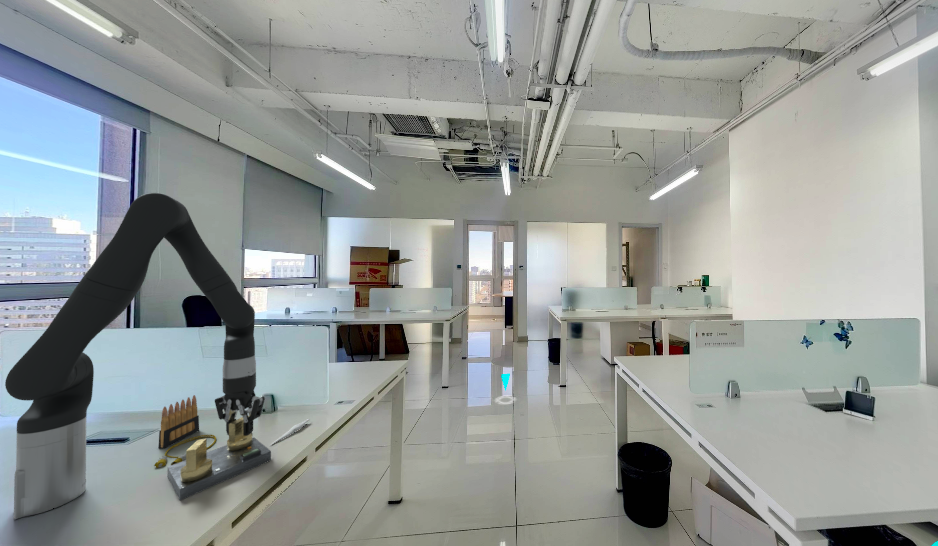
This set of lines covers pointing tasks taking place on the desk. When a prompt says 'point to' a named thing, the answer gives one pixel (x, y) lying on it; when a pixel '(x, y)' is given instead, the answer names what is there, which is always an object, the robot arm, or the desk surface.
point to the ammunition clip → (178, 422)
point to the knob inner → (196, 462)
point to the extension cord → (163, 459)
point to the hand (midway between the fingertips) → (239, 433)
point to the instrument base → (220, 467)
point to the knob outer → (238, 436)
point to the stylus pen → (292, 430)
